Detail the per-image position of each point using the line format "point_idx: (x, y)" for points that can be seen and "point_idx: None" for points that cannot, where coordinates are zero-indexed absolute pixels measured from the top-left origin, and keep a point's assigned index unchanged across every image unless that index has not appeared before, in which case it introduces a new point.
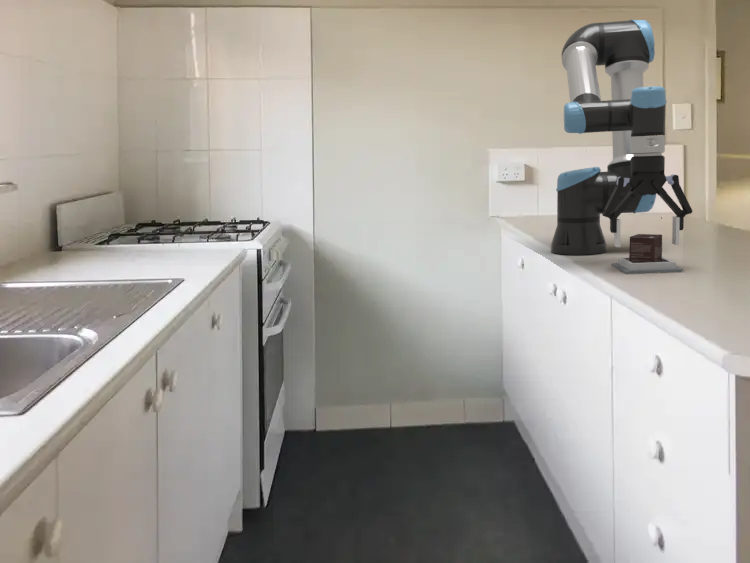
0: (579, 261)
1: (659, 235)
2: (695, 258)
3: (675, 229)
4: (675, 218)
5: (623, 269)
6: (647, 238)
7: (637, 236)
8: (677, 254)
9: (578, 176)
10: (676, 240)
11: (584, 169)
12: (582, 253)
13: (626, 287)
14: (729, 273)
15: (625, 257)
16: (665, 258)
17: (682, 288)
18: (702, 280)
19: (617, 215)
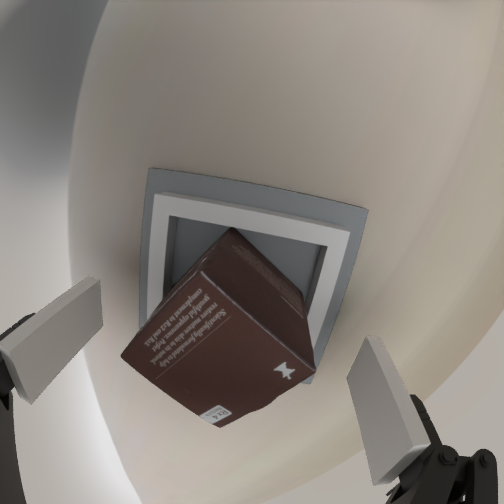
0: (106, 41)
1: (282, 392)
2: (494, 151)
3: (365, 424)
4: (379, 472)
5: (141, 320)
6: (193, 410)
7: (157, 370)
8: (479, 49)
9: None
10: (352, 392)
11: None
12: None
13: (120, 438)
14: None
15: (183, 202)
16: (322, 303)
17: (202, 474)
18: (274, 454)
19: (6, 408)
